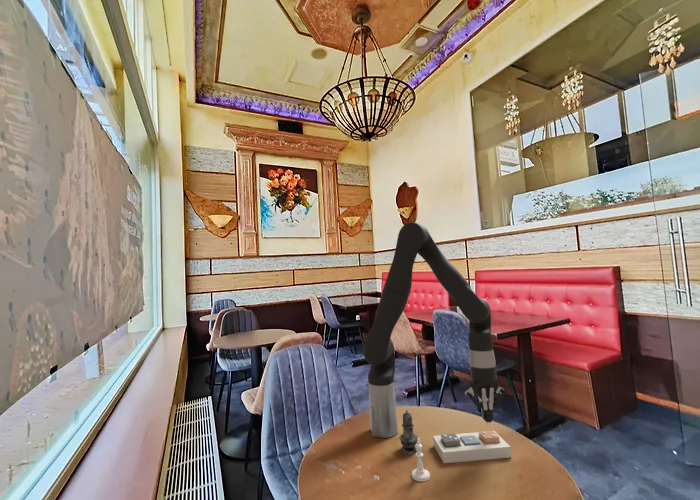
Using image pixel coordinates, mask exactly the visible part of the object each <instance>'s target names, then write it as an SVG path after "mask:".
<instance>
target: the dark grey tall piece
mask: <svg viewBox="0 0 700 500" xmlns="http://www.w3.org/2000/svg"><path fill="white" fill-rule="evenodd" d="M401 427H402V429H403V430H402V432H403V434H401V435H400V436H399V441H400V444H401V445H402V446H401V448H400V450H401V452H402V453H403V454H406V455H413V454H416V453H417V450H416V447H415V445H416V444H418V443H417V438H419V437H418V436H417V435H416V434H414V424H413V416H412V414H411V413H409V411H408V410H405V412H404V413H403V414H402V424H401Z"/></svg>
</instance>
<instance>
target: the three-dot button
mask: <svg viewBox="0 0 700 500" xmlns="http://www.w3.org/2000/svg"><path fill="white" fill-rule="evenodd" d="M455 434H456V433H447V434H446V433H445V434H440V435H441V442H442V443H443V445H444V446H445V448H447V447H458V446H460V440H459V439H458V437H457V436H456V435H455Z"/></svg>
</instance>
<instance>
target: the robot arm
mask: <svg viewBox="0 0 700 500" xmlns="http://www.w3.org/2000/svg"><path fill="white" fill-rule="evenodd" d="M395 245H396V246H395V250H394V255H393V259H392V262H391V265H390V268H389V270H388V273H387V277H386V280H385V283H384V286H383V288H382V292H381V294H380V299H379V302H378V305H377V309H376V313H375V317H374V320H373V323H372V326H371V328H370V330H369V333H368V335H367V338H366V340H365V342H364V345H363V348H362V350H363V351H362V352H363V354H362V355H363V356H364V360H366V362H367V363H368V364H370V370H369V371H368V374H367V380H368V381H367V382H368V383H367V384H368V396H369V398H368V400H369V401H368V408H369V410H368V411H369V425H370V431H371V437H377V438H382V439H383V438H384V439H385V438H386V439H387V438H391V437H394V436H396V435H397V434H398V433H399V431H398V430H399V429H398V418H397V417H398V416H397V414H398V413H397V404H396V403H397V402H396V388H395V373H396V360H395V359H396V354H395V346H394V343H393V340H392V339H391V337H392V333H393V331H394V329H395V326H396V325H397V323H398V321H399V319H400V318H401V316H402V315H403V313H404V311H405V308H406V306H407V303H408V300H409V298H410V294H411V290H412V284H413V268H414V265H415V261H416V258H417V255H419V256H420V257H422V259H423V261H425V263H426V264H427V265H428V266H429V268H430V269H431V271H432V272H433V275H434V276H435V277H436V279H437V281H438V282H439V283H440V284H441V286H442V287H443V288H444V290H445V291H446V292H447V293H448V294H449V295H450V297H451V298H452V299H453V301H454V302H455V303H456V305H457V306H458V308H459V310H460V311H461V313H462V315H464V317H465V318H466V320H468V325H469V330H468V337H467V338H468V348H469V351H468V352H469V354H468V358H469V369H470V370H469V371H470V380H471V382H470V387H469V388H468V389H465V390H464V391H463V392H464V394H465V396H466V397H467V398H468V399H469V400H470V401H471V402H472V404H473V405H475V407H477V409H480V410H481V418H482V419H483V421H485V423H487V424H488V423H492V422H493V420H494V414H493V412H494V411H493V409H495V408H498V407H499V406H500V404H501V403H502V401H503V400H504V397H505V396H506V394H507V392H508V391H507V389H504V388H503V387H502V386H501V387H500V384H499V383H498V375H497V374H498V373H497V365H496V362H497V361H496V357H495V352H494V345H493V344H494V342H493V336H492V314H491V306H490V305H489V303H488V302H487V301H486V300H485V299H482V298H480V297H478V295H477V294H476V293H475V291H474V290H473V289H472V287H471V286H472V285H470V283H469V281H468V280H467V279H466V278H465V277H464V276H463V274H461V273H460V271H459V270H458V269H457V268H456V267H455V266H454V265H453V264H452V263H451V262H450V260H449V259H448V258H447V257H446V256H445V255H444V253H443V252H442V251H441V250H440V248H439V246H438V245H437V244H436V242H435V241H434V239H433V237H432V236H431V234H430V231H429V230H428V229H427V227H425V226H424V225H423V224H420V223H418V222H414V221H410V222H407V223H405V224H404V225H402V227H400V229H399V232H398V234H397V239H396V244H395ZM475 395H476V396H477V398H478V400H477V399H476V398H475Z"/></svg>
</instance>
